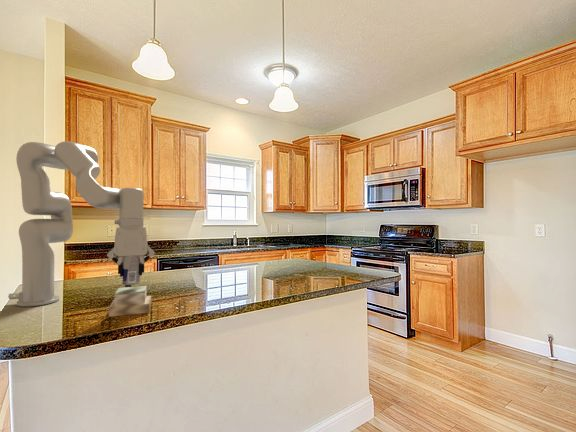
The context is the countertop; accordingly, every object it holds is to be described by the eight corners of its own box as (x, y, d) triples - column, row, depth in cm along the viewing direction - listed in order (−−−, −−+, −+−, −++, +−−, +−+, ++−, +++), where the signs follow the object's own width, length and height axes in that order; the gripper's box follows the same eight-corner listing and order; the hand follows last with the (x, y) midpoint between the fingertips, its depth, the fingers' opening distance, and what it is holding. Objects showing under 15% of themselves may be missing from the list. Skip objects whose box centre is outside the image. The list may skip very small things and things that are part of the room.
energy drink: (126, 282, 111) (126, 248, 111) (142, 281, 111) (142, 248, 112) (119, 285, 106) (120, 250, 106) (136, 285, 106) (136, 249, 106)
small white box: (108, 316, 101) (108, 294, 101) (114, 306, 112) (114, 287, 112) (149, 312, 105) (149, 291, 105) (151, 303, 116) (151, 284, 116)
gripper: (101, 223, 102) (101, 279, 102) (157, 223, 108) (157, 275, 108) (105, 223, 109) (105, 275, 109) (158, 223, 115) (158, 272, 115)
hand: (131, 274), depth 109 cm, fingers closed on energy drink, 5 cm apart
